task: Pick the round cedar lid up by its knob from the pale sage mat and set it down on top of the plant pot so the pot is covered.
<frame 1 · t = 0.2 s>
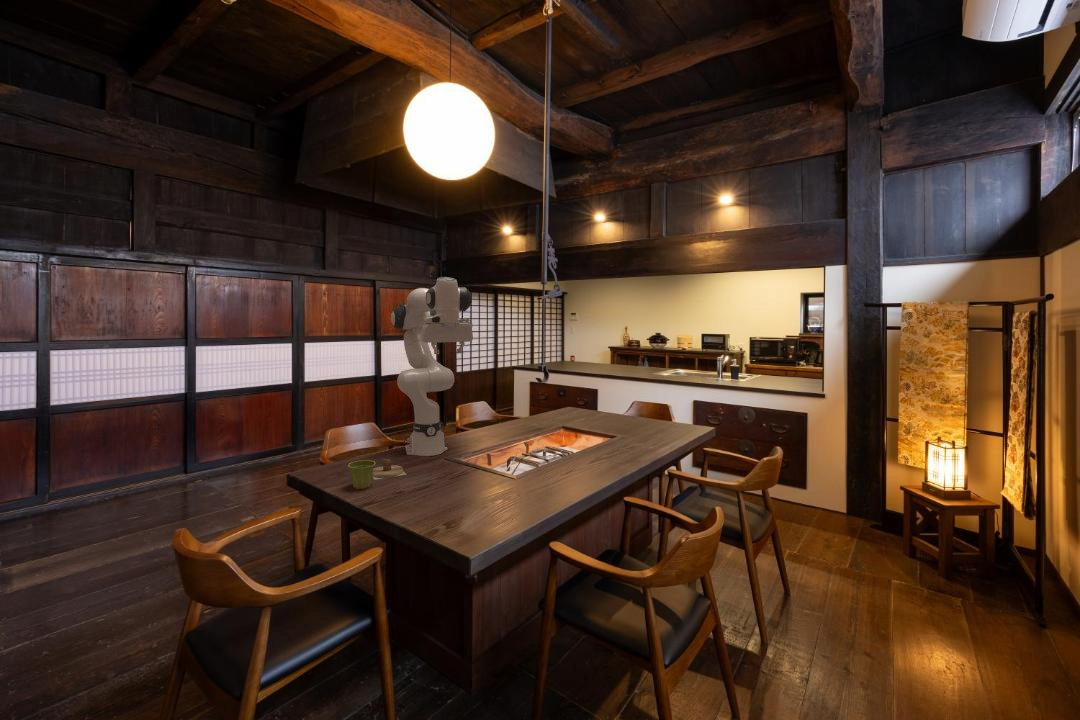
hand: (448, 353, 184), 47 cm above the table, fingers open, 8 cm apart
plant pot: (362, 487, 169), on the table
lid: (387, 472, 183), point 1 cm above the table, touching mat
mat: (387, 474, 183), on the table
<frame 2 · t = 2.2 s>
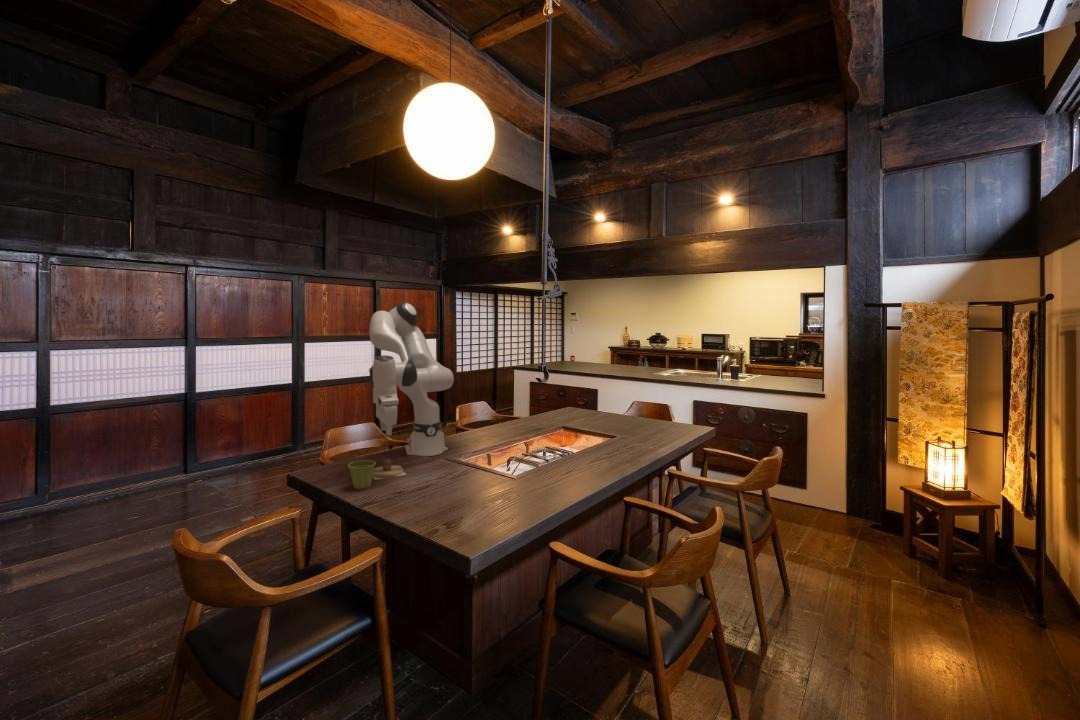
hand: (386, 432, 182), 17 cm above the table, fingers open, 8 cm apart
nothing on the table moved.
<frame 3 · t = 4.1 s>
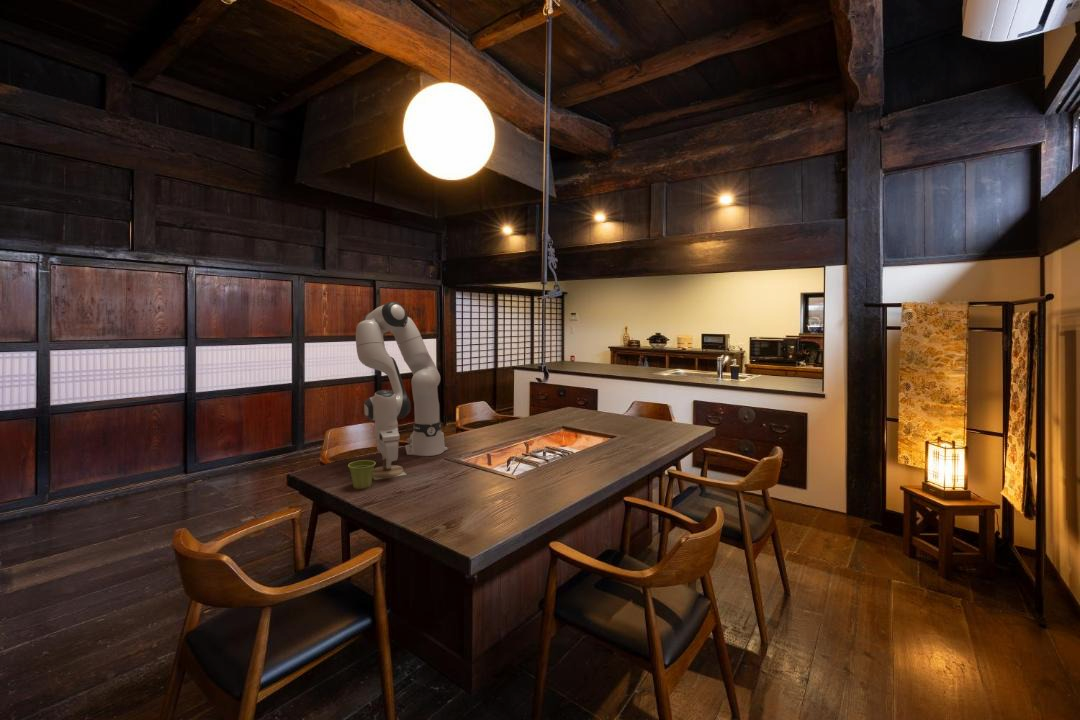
hand: (387, 466, 183), 3 cm above the table, fingers closed on lid, 3 cm apart
lid: (387, 472, 183), point 1 cm above the table, touching gripper, mat
everything else where it was.
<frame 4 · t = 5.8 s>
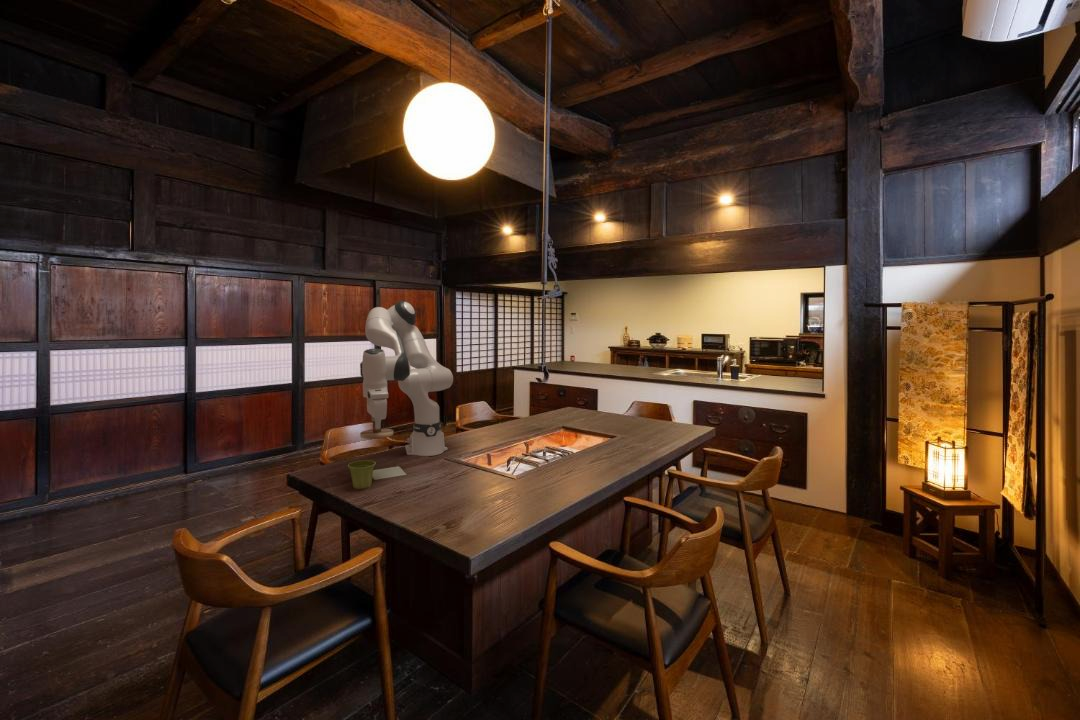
hand: (376, 427, 177), 20 cm above the table, fingers closed on lid, 3 cm apart
lid: (377, 435, 177), point 17 cm above the table, touching gripper
everything else where it was.
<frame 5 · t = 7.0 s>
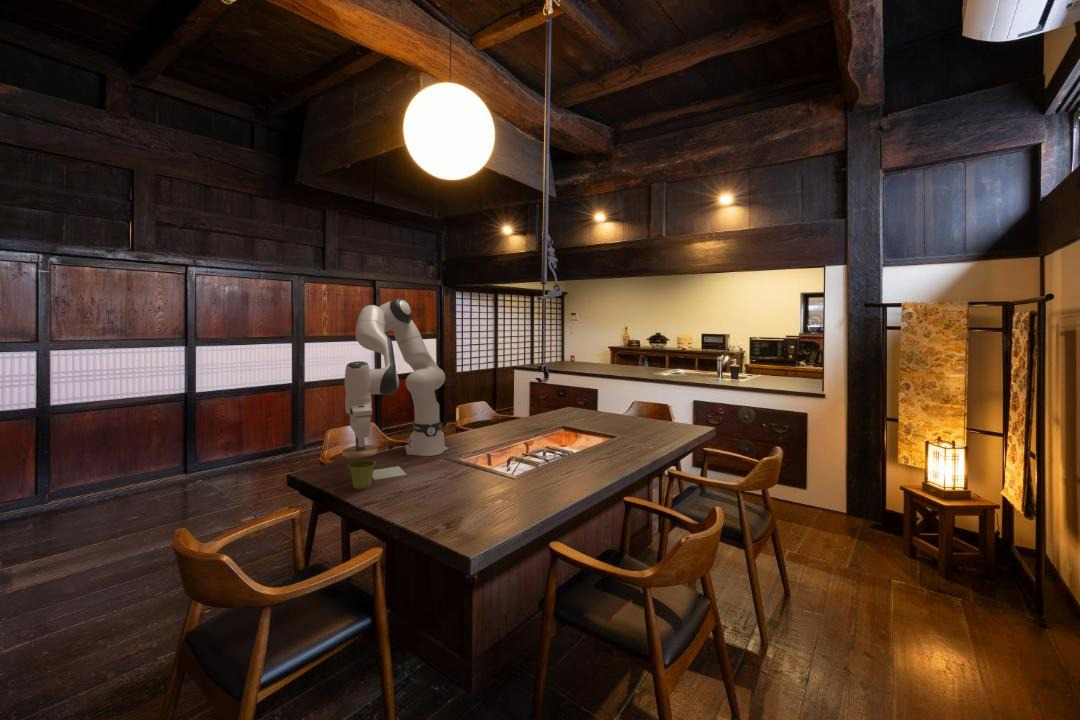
hand: (359, 444, 168), 16 cm above the table, fingers closed on lid, 3 cm apart
lid: (360, 452, 168), point 13 cm above the table, touching gripper
everything else where it was.
when the fingers open (13 cm above the table, at t = 7.7 s): lid drops 1 cm, resting on plant pot.
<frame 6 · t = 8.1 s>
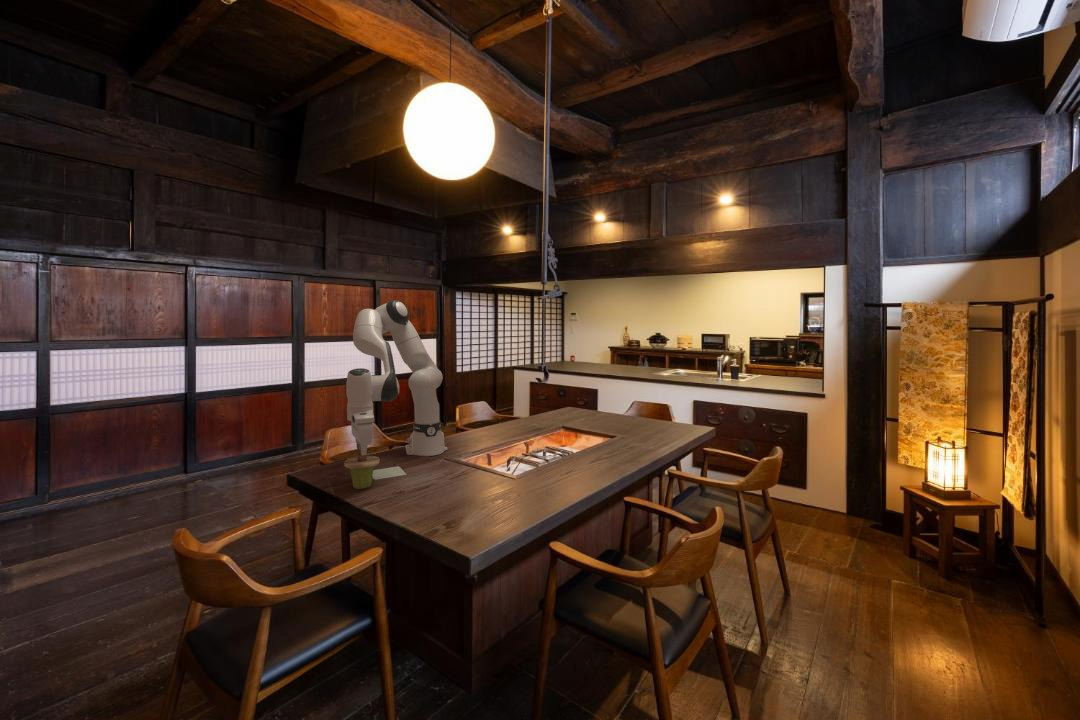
hand: (361, 451, 168), 13 cm above the table, fingers open, 7 cm apart
plant pot: (362, 487, 169), on the table, touching lid
lid: (362, 463, 169), point 9 cm above the table, touching plant pot
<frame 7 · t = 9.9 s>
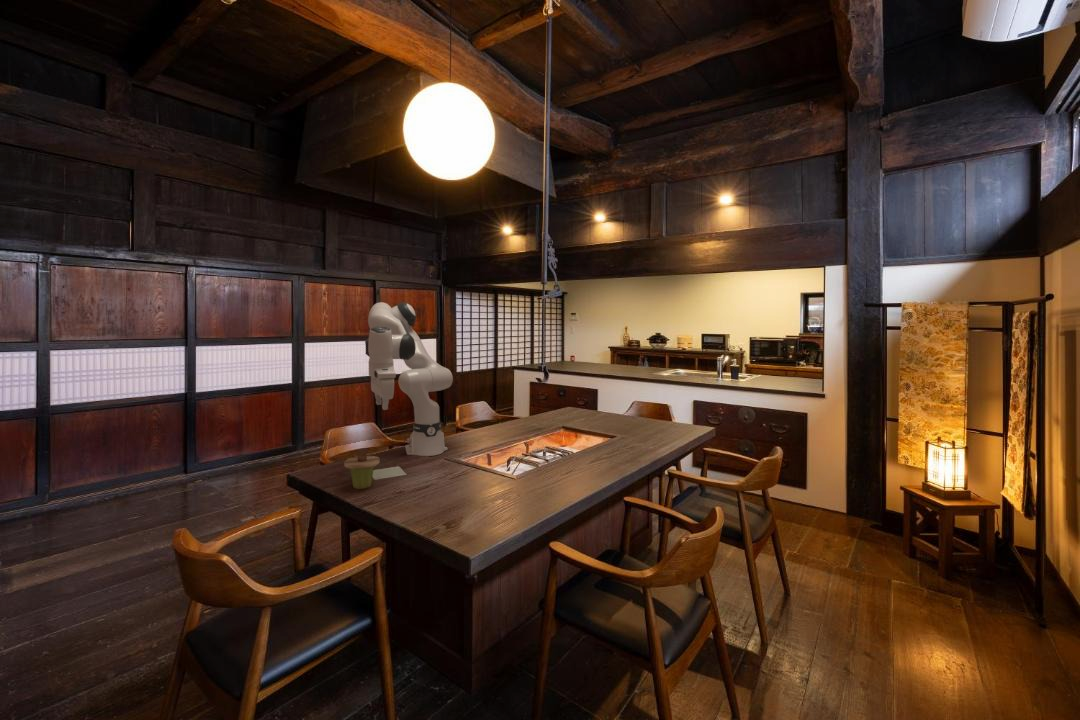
hand: (381, 407, 175), 28 cm above the table, fingers open, 8 cm apart
nothing on the table moved.
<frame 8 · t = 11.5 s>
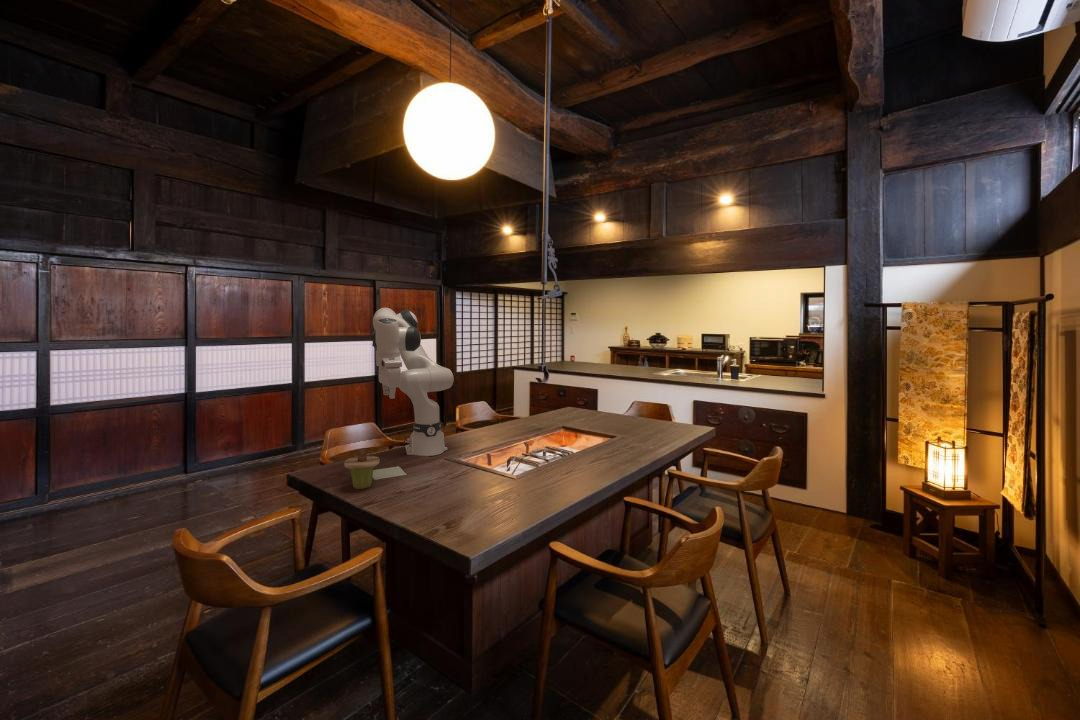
hand: (389, 396, 180), 31 cm above the table, fingers open, 8 cm apart
nothing on the table moved.
at the end: lid 0.1 cm off-centre on the plant pot, point 8.9 cm above the plant pot's base; lid tilted 0°; the gripper is holding nothing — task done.
